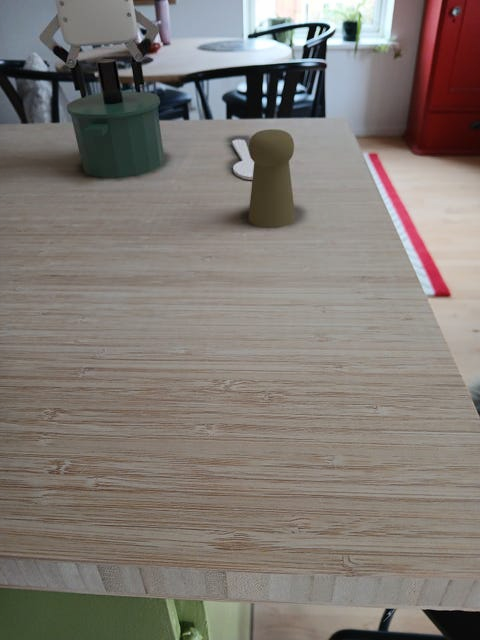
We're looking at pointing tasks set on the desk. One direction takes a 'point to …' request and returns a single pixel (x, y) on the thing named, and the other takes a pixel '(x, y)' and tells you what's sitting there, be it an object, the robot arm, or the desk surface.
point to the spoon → (243, 160)
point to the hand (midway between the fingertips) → (111, 92)
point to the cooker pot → (120, 144)
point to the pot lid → (112, 97)
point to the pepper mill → (271, 179)
